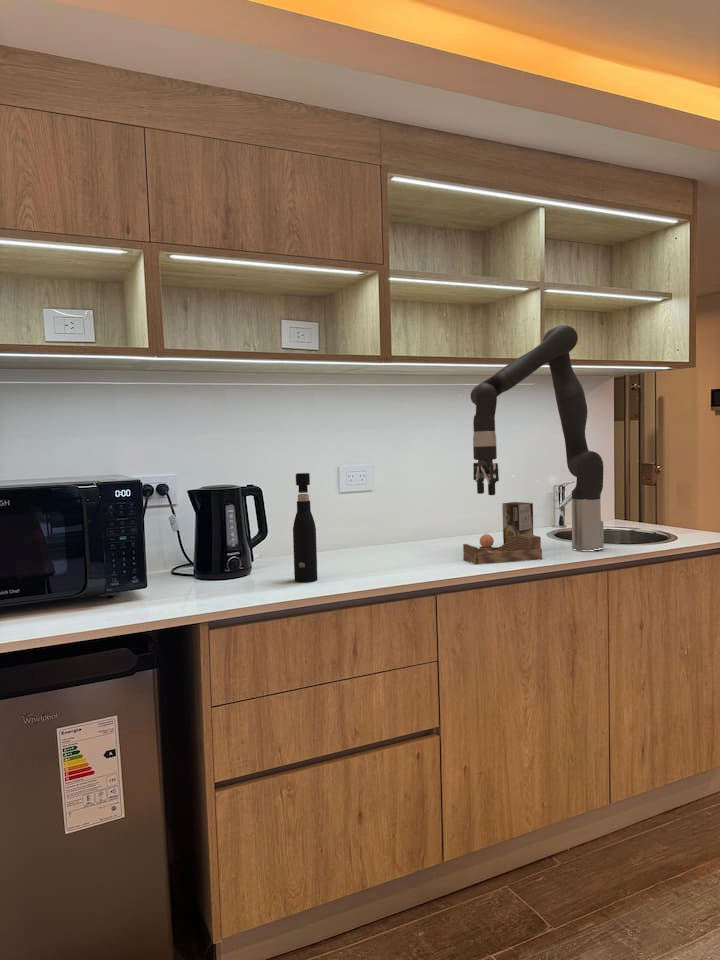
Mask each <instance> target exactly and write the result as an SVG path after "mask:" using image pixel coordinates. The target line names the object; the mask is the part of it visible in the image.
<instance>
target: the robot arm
mask: <svg viewBox="0 0 720 960" xmlns="http://www.w3.org/2000/svg"><path fill="white" fill-rule="evenodd" d="M578 337H579V336H578V332H577V331H576V329H575V328H573V327H572V326H570V325H567V324H566V325H565V324H564V325H561V324H560V325H558V326H556V327H553V328H551V329H549V330H547V332H545V334H544V336H543V339H542V342H541V343H540V344H539V345H537V346H535V347H534V348H533V349H531V350H529V351H528V352H526V353H525V354H523V355H521V356H520V357H518V358H516V359H515V360H513V361H511V362H510V363H508V364H506V365H505V366H504V367H502V368H501V369H499V370H498V371H497V372H496V373H495V374H493V375H492V376H490V377H488V378H487V379H486V380H483V381H482V382H480V383H479V384H477V385H476V386H475V387H474V388H473V389H472V390H471V392H470V400H471V402H472V403H473V404H474V405H475V414H474V415H473V427H472V428H473V437H472V448H473V451H472V452H473V460H474V461H477V462H473V466H472V467H473V473H472V474H473V480H474V481H475V483H476V491H477V494H478V495H480V494H481V495H483V494H485V482H484V481H485V479H486V481H487V494H488V495H489V496H495V495H496V484H497V482H499V481H500V480H499V479H500V477H499V465H498V464H499V463H498V462H493V460H497V458H498V456H497V455H498V452H497V451H498V450H497V434H496V419H495V418H496V417H495V416H496V411H497V405H498V404H497V401H498V397H499V396H500V395H502V394H503V393H506V392H508V391H510V390H511V389H512V388H514V387H515V386H517V385H519V383H521V382H522V381H524V380H525V379H527V378H528V377H529V376H530V375H532V374H533V373H534V372H535V371H537V370H539V369H540V368H541V367H543V366H544V365H545V364H547V363H548V366H549V369H550V374H551V380H552V385H553V389H554V390H553V391H554V395H555V400H556V406H557V410H558V411H557V412H558V415H559V420H560V424H561V428H562V429H561V430H562V434H563V438H564V444H565V445H564V446H565V456H566V465H567V468H568V470H569V473H570V474H571V475H572V476H573V477H575V478H576V483H575V487H574V488H573V489H572V490H571V546H572V547H571V549H572V550H573V549H576V550H594V549H599V548H603V547H604V546H605V545H604V543H605V542H604V539H605V538H604V534H605V533H604V521H603V520H602V519H601V518H602V517H601V516H602V514H601V509H602V508H601V507H602V506H601V505H602V504H601V501H602V499H601V498H602V497H601V494H602V492H603V488H604V461H603V459H602V456H601V455H600V454H599V453H598V452H597V451H594V450H590V449H589V448H588V443H587V438H586V428H587V419H588V405H587V401H586V400H587V399H586V396H585V394H586V393H585V391H584V388H583V386H582V384H581V382H580V380H579V379H578V377H577V375H576V373H575V372H574V369H573V366H572V364H571V363H572V362H571V357H570V355H571V354H570V352H571V351H572V350H574V348H575V347H576V345H577V344H578V341H579V340H578V339H579V338H578ZM604 548H605V547H604ZM576 550H575V551H576Z"/></svg>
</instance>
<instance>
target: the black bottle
mask: <svg viewBox="0 0 720 960" xmlns="http://www.w3.org/2000/svg"><path fill="white" fill-rule="evenodd" d="M310 474H311V473H309V472H299V473H296V474H295V485H296V486H298V494H297V501H296V514H295V517H294V520H293V526H292V543H293V544H292V545H293V567H294V568H293V569H294V572H293V574H294V576H293V577H294V582H296V583H303V584H304V583H305V584H306V583H313V582H317V581H318V579H319V578H318V552H317V549H318V548H317V527H316V523H315V520H314V516H313V514H312V511H311V509H312V508H311V500H310V495H309V493H308V492H309V490H308V486H310V485H311V482H310V481H311V479H310V478H311V477H310Z"/></svg>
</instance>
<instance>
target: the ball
mask: <svg viewBox="0 0 720 960" xmlns="http://www.w3.org/2000/svg"><path fill="white" fill-rule="evenodd" d="M494 543H495V539H494V538H493V536H492V535H490V534H486V533H485V534H483V535H481V537H480V538H479V544H480V547H484V548H490V547H493V546H494Z"/></svg>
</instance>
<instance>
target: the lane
mask: <svg viewBox="0 0 720 960" xmlns="http://www.w3.org/2000/svg"><path fill="white" fill-rule="evenodd" d="M541 539H542V538H541V536H538V535H535V534H533V535H531V534H518V535H517V536H515V538H512V540H510V541H507V543H504V545H503V544H501V546H497V547H494V546H493V547H494V548H480V547H479V548H478V547H477V546H473V545H471V544H469V543H463V544H462V547H463V548H462V550H463V552H462V553H463V557H462V559H463V560H464V561H466V560H467V561H466V562H468V561H469V562H468V563H471V562H472V563H471V564H473V563H474V565H483V564H482V563H487V564H498V563H499V562H500V563H509V562H510V563H512V562H525V560H527V561H537V560H538V559H540V560H542V559H543V551H542V543H541V542H542V540H541Z"/></svg>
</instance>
